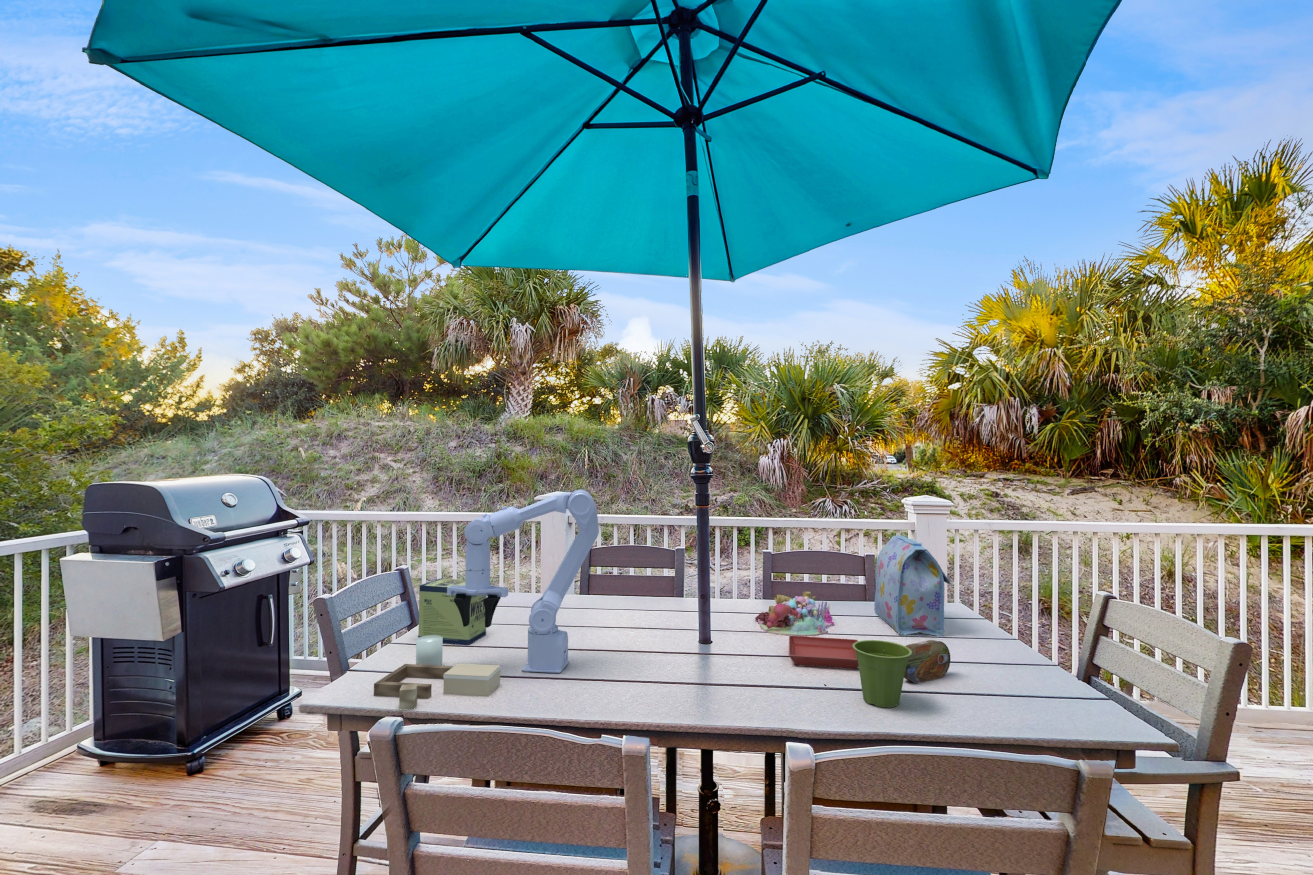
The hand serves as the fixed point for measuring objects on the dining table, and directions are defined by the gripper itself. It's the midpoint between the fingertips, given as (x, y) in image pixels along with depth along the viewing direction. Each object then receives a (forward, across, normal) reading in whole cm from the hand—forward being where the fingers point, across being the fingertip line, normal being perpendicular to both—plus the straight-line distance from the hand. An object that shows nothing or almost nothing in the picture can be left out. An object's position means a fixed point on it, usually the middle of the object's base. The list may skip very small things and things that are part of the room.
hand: (477, 625), depth 154 cm
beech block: (+10, -5, -23) cm, 26 cm away
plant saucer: (+11, +84, +21) cm, 87 cm away
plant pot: (+10, +92, -7) cm, 93 cm away
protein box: (+11, -17, +24) cm, 31 cm away
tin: (+11, +105, +9) cm, 106 cm away
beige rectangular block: (+11, +4, -12) cm, 17 cm away
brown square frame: (+10, -10, -12) cm, 19 cm away
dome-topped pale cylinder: (+10, -12, 0) cm, 16 cm away
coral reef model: (+11, +80, +52) cm, 96 cm away
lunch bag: (+10, +114, +55) cm, 127 cm away
